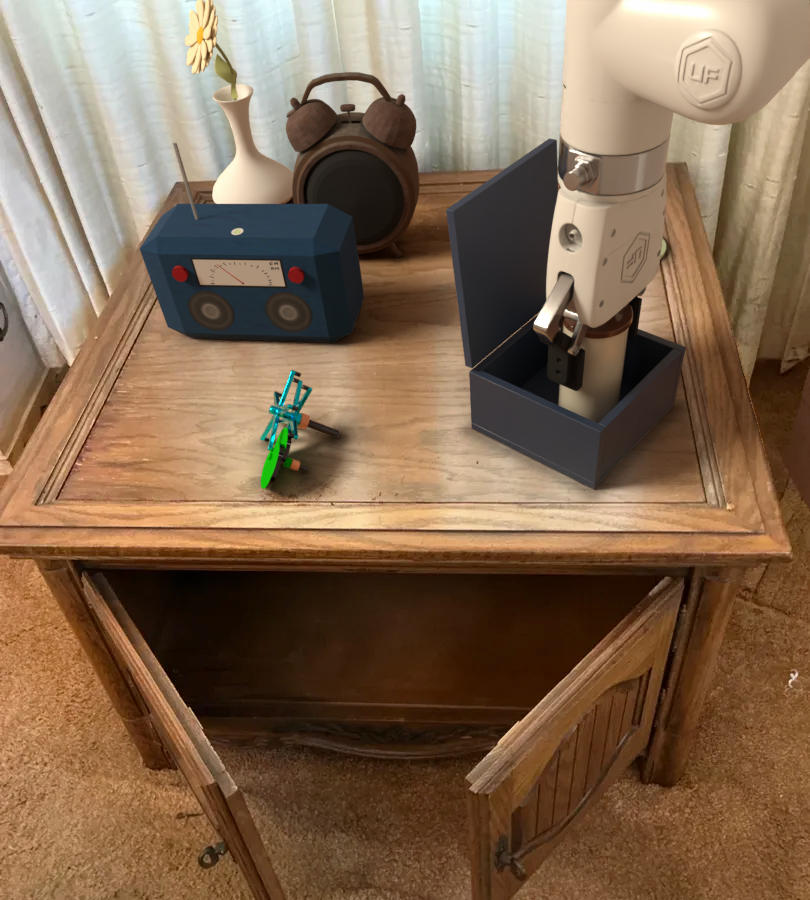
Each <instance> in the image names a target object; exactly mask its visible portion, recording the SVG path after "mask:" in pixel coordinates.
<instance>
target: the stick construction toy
mask: <svg viewBox="0 0 810 900" xmlns="http://www.w3.org/2000/svg"><path fill="white" fill-rule="evenodd" d="M301 376H302V372H299V371H297V370H293V369H291V370H290V372H289V375H288V377H287V380H286V383H285V384H284V388H283V390H282V393H281V392H278V391H274V392H273V405H270V406H269V408H268V414H270V415H272V416H271V417H270V419H269V421H268V423H267V425H266V426H265V428H264V430H263V432H262V433H261V435H260V437H259V440H260V441H261V442H265V443H268V444H267V451H269V452H268V454H267V456H266V458H265V461H264V464H263V467H262V469H261V470H262V471H261V476H260V488H261V489H263V490H265V491H269V490H270V489H272V486H273V484H274V482H275V480H276V478H277V476H278V473H279V471H280V468H283V467H284V468H287V469H290V470H293V471H296V472H298V471H301V472H303V473H307V471H308V469H309V465H307V464H304V463H301V461H300V460H297V459H295V458H291V457H289V456H288V455H289V453H290V450H291V446H292V441H293V440H294V441H295V440H296V441H297V440H298V439H299V431H298V428H299V429H301V430H304V431H305V430H306V429H307V428H308V429H311V430H313V431H316V432H318V433H322V434H324V435H326V436H330V437H332V438H336V439H338V438H339V437H340V433H341V431H340V430H339V429H336V428H334V427H332V426H329V425H327V424H324V423H321V422H318V421H315V420H313V419H311V416H310V415H309V414H306V413H303V412H301V411H302V408H303V407H304V405H305V403H306V402H307V400H308V398H309V397H310V396H311V394H312V391H313V387H311V386H308V385H305V384H303V380H301V379H299V378H300V377H301ZM296 377H298V378H296ZM292 383H295V384H296V388H295V392H294V397H293V400H292V401H293V402H292V404H291V403H287V404H285V402H286V400H287V397H288V394H289V391H290V389H291V386H292ZM302 390H304V393H303V394H302V396H301V393H302ZM300 397H301V398H300ZM280 418H281V419H280ZM279 424H280V425H286V427H283V428H282V429H281V431H280V432H279V435H278V436H277V439H276V435H277V432H278V431H277V430H278V427H279ZM269 434H270V435H269ZM268 435H269V438H268V437H267V436H268ZM292 439H293V440H292ZM275 440H276V441H275ZM274 443H275V444H274Z"/></svg>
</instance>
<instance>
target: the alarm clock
mask: <svg viewBox="0 0 810 900" xmlns="http://www.w3.org/2000/svg"><path fill="white" fill-rule="evenodd" d="M343 81H344V82H347V81H353V82H354V81H357V82H361V83H362V82H363V83H367V84H371V85H373V87H375V89H376V90H377V91H378V93H379V94H380V95H381V96H382V97H379V98H376V99H375V100H373V102H371V104H369V106H368V107H367V108H366V110H365V112H361V111H360V112H359V111H357V112H356V104H354V103H344V104H341V105H340V106H339V110H340V112H341V113H338V114H337V112H336V111H335V110H334V109H333V107H331V106H330V105H329V104H328V103H326V102H325V101H323V100H322V99H319V98H310V99H309V96H310V94H311V92H312V90H313V89H314V88H317V87H319V86H322V85H324V84H327V83H334V82H343ZM289 102H290V103H289V104H290V105H291V107H292V109H291V110H289V111H288V112H287V114H286V117H285V118H287V120H286V123H285V134H286V136H287V139H288V142H289V144H290V145H291V147H292V149H293V150H294V152H296V153H298V154H297V156H296V160H295V162H294V163H295V164H294V167H293V184H292V195H293V197H292V201H293V204H329V205H331V206H333V207H335V208H337V209H339V210H341V211H343V212H345V213H347V214H348V215H350V216H352V217H353V223H354V230H355V236H356V243H357V250H358V255H359V254H361V255H363V254H369V253H374V252H378V251H380V250H383V249H386V248H387V247H388V248H389V249H391V251H392V252H394V253H395V256H396V258H400V257H402V255H403V254H402V251H400V250H399V248H398V247H397V245H396V243H395V242H396V241H398V240H399V239H400V238H401V237H402V236H403V235H404V233H405V232H406V231H407V230H408V228H409V226H410V224H411V222H412V219H413V217H414V214H415V211H416V208H417V204H418V201H419V195H420V175H419V174H420V173H419V165H418V160H417V156H416V153H415V152H414V149H413V146H412V145H413V144H414V141H415V138H416V133H417V118H416V117H415V114H414V112H413V110H412V109H411V108H410V107H409V106H408V105H407V104H406V103H405V102H406V95H405V94H404V93H400V94H399V95H398V96H397V98H395V97H392V96H391V95H390V93H389V91H388V90H387V88H385V86H384V85H383V83H382V82H381V80H380V79H379V78H378V77H376V76H375V75H372V74H367V73H365V72H359V71H355V72H354V71H346V72H345V71H344V72H333V73H327V74H322V75H321V76H318V77H315V78H313V79H311V80H310V81H309V82H308V83H307V85H306V87H305V91H304V93H303V95H302V97H301V101H299V99H298V98H296V97H291V98H290V100H289Z"/></svg>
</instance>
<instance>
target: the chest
mask: <svg viewBox="0 0 810 900" xmlns="http://www.w3.org/2000/svg"><path fill="white" fill-rule="evenodd" d="M538 315H539V313H538V314H537V315H535V316H534V317H533V318H532V319H531V320H529V321H528V322H527V323H526V324H525V325H523V326H522V327H521V328H520V329H519V330H518V331H516V332H515V333H514V334H513V335H512V336H510V337H509V338H508V339H507V340H506V341H504V342H503V343H502V344H501V345H500V346H498V347H497V348H496V349H495V350H494V351H492V352H491V353H490V354H489V355H488V356H487V357H485V358H484V359H483V360H482V361H481V362H479V363H478V364H477V365H476V366H475V367H473V368H471V369H470V370H469V371H468V377H469V378H468V379H469V398H470V399H469V400H470V422H471V424H470V425H471V430H473V431H476V432H477V433H479V434H482V435H484V436H486V437H488V438H490V439H492V440H494V441H496V442H497V443H500V444H502V445H504V446H505V447H508V448H509V449H512V450H514V451H515V452H517V453H519V454H522V455H524V456H526V457H528V458H529V459H531V460H534V461H535V462H538V463H540V464H542V465H543V466H546V467H547V468H549V469H552V470H553V471H555V472H557V473H560V474H562V475H564V476H565V477H567V478H570V479H572V480H573V481H576V482H578V483H579V484H581V485H584V486H586V487H588V488H589V489H591V490H596V489H597V488H598V487H599V486H600V485H601V483H603V481H604V480H605V479H606V478H607V477H608V476H609V475H610V474H611V473H612V472H613V471H614V470H615V469H616V468H617V467H618V466H619V465H620V464H621V463H622V461H624V459H625V458H626V457H628V455H629V454H630V453H631V452H632V451H633V450H634V449H635V448H636V447H637V446H638V445H639V444H640V443H641V442H642V440H643V439H645V437H646V436H647V435H649V433H650V432H651V431H652V430H653V429H654V428H655V427H656V426H657V425H658V424H659V423H660V422H661V421H662V420H663V419H664V417H665V416H666V415H667V414H668V413H669V412H670V411H671V410H672V409H673V408H674V407H675V405H676V400H677V395H678V391H679V390H678V389H679V385H680V379H681V374H682V370H683V364H684V360H685V354H686V349H687V346H685V345H682V344H679V343H676V342H674V341H671V340H669V339H666V338H664V337H661V336H658V335H655V334H653V333H650V332H648V331H646V330H644V329H643V330H642V329H640V328H638V332H637V335H636V336H635V337H634V338H633V339H627V345H626V353H625V360H624V368H623V375H622V383H621V390H620V398H619V403H618V404H617V405H616V406H615V407H614V408H613V409H612V410H611V411H610V412H609V413H608V414H607V415H606V416H605V417H604V418H603V419H602V420H601V421H600V422H599V423H596V422H594V421H592V420H589V419H587V418H585V417H583V416H581V415H578V414H576V413H574V412H572V411H570V410H567V409H565V408H563V407H561V406H559V405H558V398H559V384H558V383H556V382H554V381H551V380H549V379H548V377H547V364H548V345H546V344H545V343H544V342H542V341H541V340H540V337H539V336H538V335H537V334H536V332H535V331H534V330H533V325H534V322H535V320H536V319H537V317H538ZM560 331H561V332H563V325H562V328H561V330H560Z"/></svg>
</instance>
